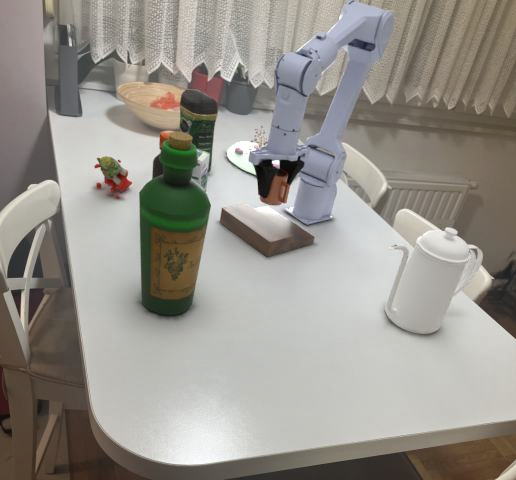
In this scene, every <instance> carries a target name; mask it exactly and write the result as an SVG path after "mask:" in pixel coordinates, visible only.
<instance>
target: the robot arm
mask: <svg viewBox="0 0 516 480" xmlns="http://www.w3.org/2000/svg"><path fill="white" fill-rule="evenodd" d="M394 25H395V16H394V12H393V11H392V10H391V9H383V8H381V7H377V6H372V5H370V4H365V3H362V2H359V1H356V0H348V1H346V3H345V4H344V5H343V6H342V8H341V11H340V12H339V17H338V20H337V21H336V23H335V24H334V25H333V26H332V27H331V28H330V29H329V30H328V31H327V32H322V31H318V32H317V33H316V34H315V35H313V37H312V38H310V39H309V40H308V41H306V43H305V44H303V45H302V46H301V47H300V48H299V49H297V50H296V51H295V52H291V51H289V52H287V53H284V54H282V55H281V56H280V57H279V59H278V61H277V62H276V66H275V68H274V69H273V82H274V90H273V96H274V97H275V100H274V107H273V112H272V117H271V122H270V128H269V133H268V138H267V140H268V141H267V142H268V143H267V144H265V145H266V146H265V145H264V147H261V148H259V149H257V150H253V151H250V153H249V159H248V161H249V162H251V163H252V164H253V166H254V168H255V172H256V175H255V176H256V182H257V194H258V196H259V197H260V196H261V197H263V198H267V197H268V194H269V191H270V187H271V183H272V181H273V178H274V176H275V174H276V173H277V171H278V170H279V169H282V170H284V171H286V172H287V173H288V179H287V183H288V184H289V185H290V186H292V184H293V182H294V180H295V178H296V177H298V178H299V181H298V186H297V190H296V196H295V198H294V202H293V206H291V207H286V208H285V209H284V212H286V213H288V214H289V215H291V216H293V217H294V218H296V219H297V220H298V221H300V222H302V223H303V224H305V225H313V224H316V223H321V222H324V221H327V220H331V219H333V218H334V216H333V215H332V211H333V209H334V204H335V201H336V197H337V195H338V187H337V184H336V183H338V182H339V180H340V179H341V177H342V174H343V171H344V166H345V163H346V160H347V156H348V154H347V152H346V149H345V147H344V145H343V144H342V137H343V135H344V133H345V130H346V127H347V126H348V123H349V121H350V118H351V116H352V113H353V111H354V109H355V107H356V103H357V102H358V99H359V96H360V95H361V92H362V89H363V86H364V84H365V82H366V79H367V77H368V74H369V72H370V70H371V68H372V65H373V63H375V62H377V61H381V59H382V57H383V55H384V53H385V51H386V49H387V47H388V44H389V42H390V39H391V38H392V35H393V32H394V27H395V26H394ZM341 49H343V51H345V52H346V53H347V54H348V60H347V63H346V65H345V68H344V70H343V73H342V76H341V77H340V80H339V83H338V85H337V88H336V90H335V93H334V96H333V99H332V101H331V103H330V106H329V108H328V111H327V113H326V115H325V118H324V121H323V123H322V126H321V128H320V131H319V133H317V134H314V135H312V136H309V137H307V138H306V140H305V141H304V144H299V139H300V136H301V132H302V126H303V123H304V117H305V114H306V109H307V104H308V100H309V95H311V94H313V92H314V91H315V90H316V88H317V85H318V83H319V81H321V78H322V77H323V73H324V72H326V71H327V70H328V69H329V68H330V67H331V66H332V65H333V64H334V63H335V62H336V61H337V59H338V56H339V51H340V50H341ZM321 149H322V150H321ZM323 150H324V151H323ZM326 151H327V152H326ZM329 152H330V153H329ZM331 153H332V154H331ZM276 160H279V165H280V168H279V169H278V168H276V167H274V166H273V163H272V161H276Z"/></svg>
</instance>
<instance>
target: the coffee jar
mask: <svg viewBox="0 0 516 480" xmlns="http://www.w3.org/2000/svg"><path fill="white" fill-rule="evenodd" d="M218 115H219V101H217V100H216V99H215V98H213V97H211V96H210V95H207V94H206V93H204V92H202V91H201V90H200V89H185V90H184V91H183V92H182V93H181V95H180V102H179V117H180V118H179V126H178V132H183V133H187V134H189V135H191V136H192V138H193V139H192V142H191V143H192V144H194V145H195V146H196V149H199V150H202V151H205V152H208V153H210V157H209V167H208V173H210V172H211V170H212V163H213V148H214V139H215V138H214V136H215V127H216V122H217V118H218Z"/></svg>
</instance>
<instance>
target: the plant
mask: <svg viewBox="0 0 516 480" xmlns="http://www.w3.org/2000/svg"><path fill="white" fill-rule="evenodd" d="M263 128H264V126H263V125H260V131H259V129H258V128H254V131H255V134H257V135H255V134H254V137H255V138H254V139H253V140H250V141H249V140H241V141H237V142H236V143H234V144H232V145H231V146H229V147H228V149H227V150H226V156H227V159H228V161H229V162H231V163H232V164H233V165H234V166H235V167H237V168H238V169H240V170H242V171H244V172H246V173H247V174H251V175H253V176H256V172H255V168H254V166H253V164H252V163H251V162H249V161H248V159H249V153H250V151H253V150H257V149H259V148H261V147H264V146H266V145H267V143H268V138H267V137H266V138H265V136H264V135H265V134H266V132H265V131H262V129H263ZM261 134H262V135H261ZM256 137H257V138H256ZM265 140H266V141H265ZM272 163H273V166H274V167H276V168H280V165H279V160H276V161H272Z"/></svg>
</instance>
